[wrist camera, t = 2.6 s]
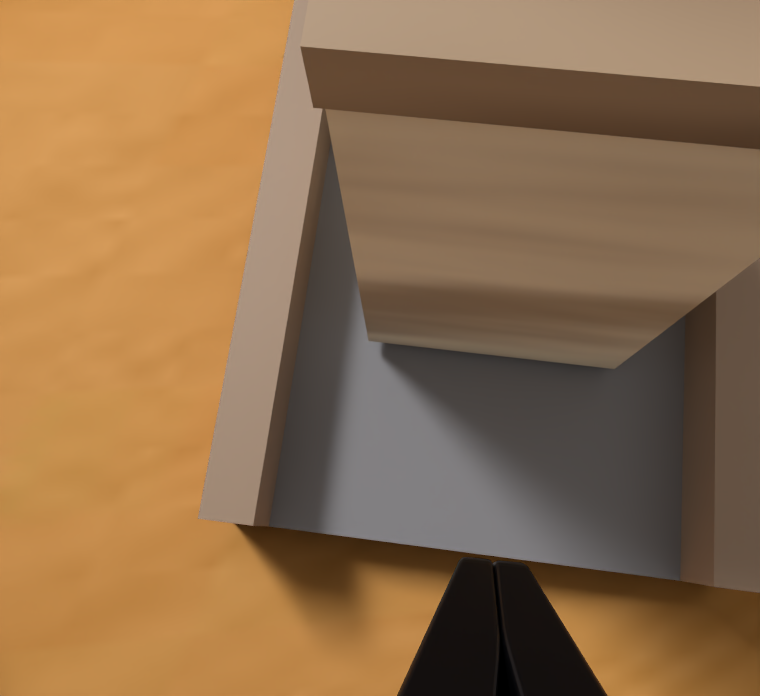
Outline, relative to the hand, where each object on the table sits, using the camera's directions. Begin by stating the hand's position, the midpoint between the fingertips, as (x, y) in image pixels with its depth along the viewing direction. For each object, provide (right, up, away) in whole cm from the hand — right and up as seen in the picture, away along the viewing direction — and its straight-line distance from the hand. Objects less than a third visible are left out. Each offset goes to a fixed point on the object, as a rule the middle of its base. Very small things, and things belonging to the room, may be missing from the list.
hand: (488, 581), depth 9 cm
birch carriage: (+2, +5, +9) cm, 10 cm away
